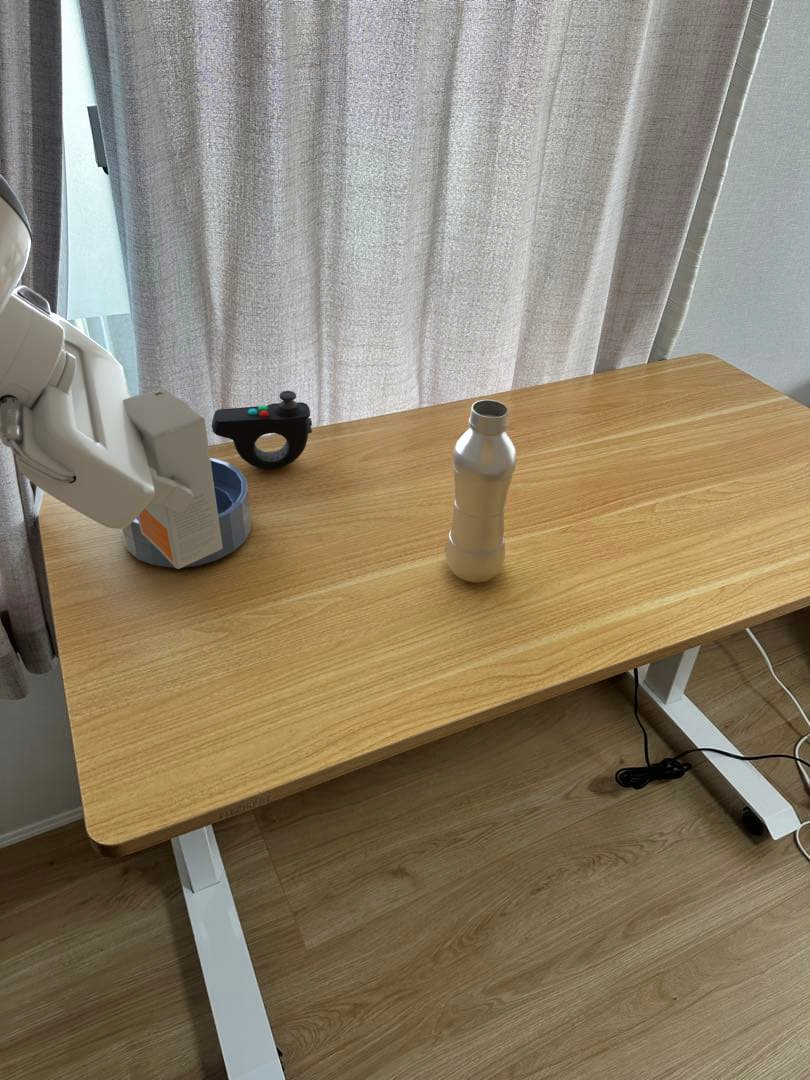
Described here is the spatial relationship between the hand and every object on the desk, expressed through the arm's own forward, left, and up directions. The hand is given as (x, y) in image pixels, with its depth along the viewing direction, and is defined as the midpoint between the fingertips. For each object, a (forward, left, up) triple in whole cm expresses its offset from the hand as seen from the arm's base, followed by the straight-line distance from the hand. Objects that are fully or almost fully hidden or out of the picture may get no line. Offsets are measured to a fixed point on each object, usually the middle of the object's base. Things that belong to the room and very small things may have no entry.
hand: (178, 471), depth 60 cm
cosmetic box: (-1, 0, -7) cm, 7 cm away
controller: (+17, +33, -23) cm, 44 cm away
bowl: (+4, +23, -23) cm, 33 cm away
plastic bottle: (+30, +3, -23) cm, 39 cm away
